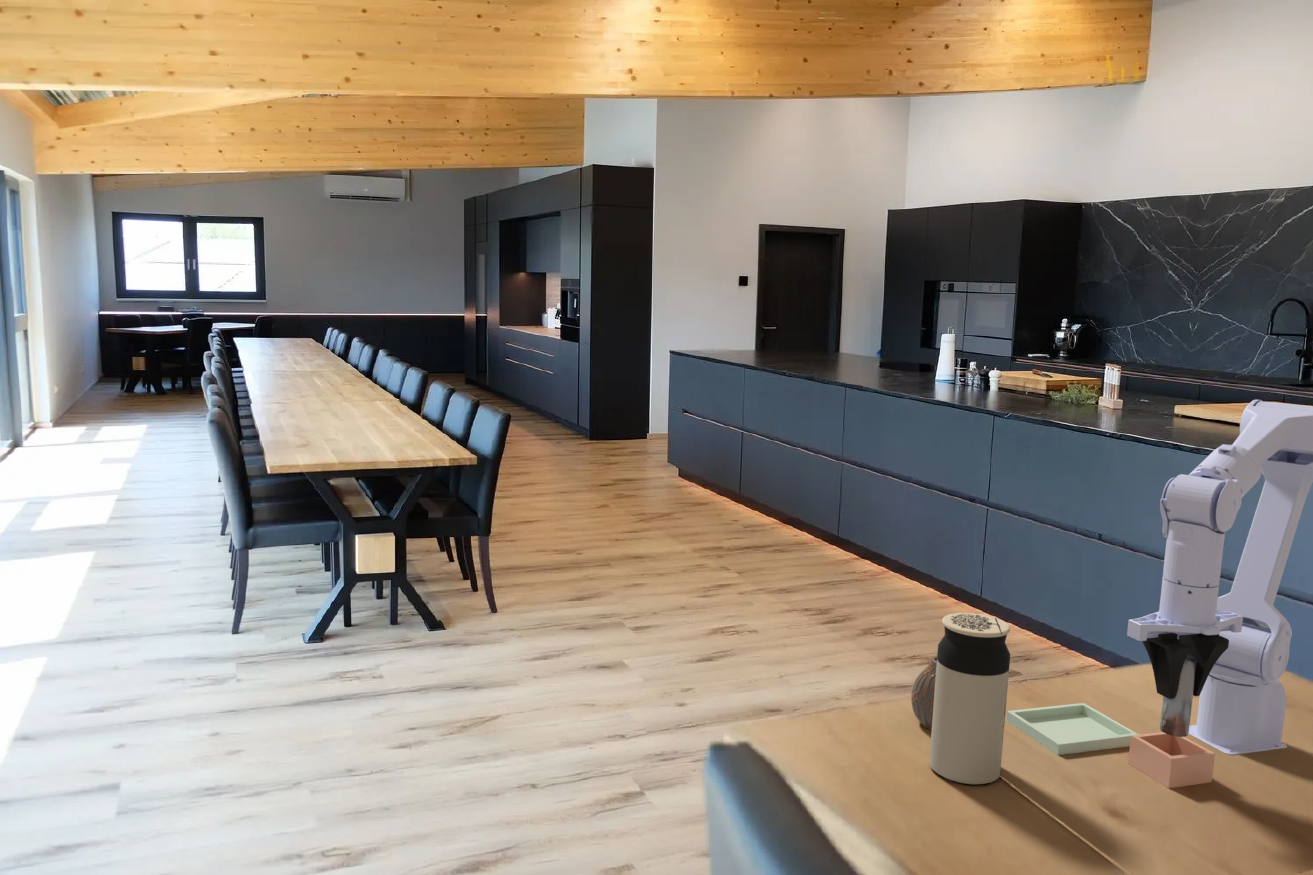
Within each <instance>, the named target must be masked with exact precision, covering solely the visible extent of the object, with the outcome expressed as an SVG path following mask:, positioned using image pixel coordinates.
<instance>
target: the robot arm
mask: <svg viewBox="0 0 1313 875" xmlns="http://www.w3.org/2000/svg"><path fill="white" fill-rule="evenodd" d="M1261 475H1263V477H1264V484H1263V487H1262V490H1261V494H1260V497H1259V500H1258V503H1257V506H1256V509H1255V513H1254V516H1253V519H1252V522H1251V526H1250V529H1249V531H1248V534H1247V538H1246V541H1245V544H1244V547H1243V551H1242V554H1241V557H1240V560H1239V564H1238V566H1237V569H1236V570H1237V571H1236V573H1235V576H1234V580H1233V581H1232V582H1233V583H1232V585H1231V589H1230V592H1228V593H1226V594H1224V595H1220V596H1219V590H1220V579H1221V573H1222V572H1221V571H1222V570H1221V569H1222V562H1223V553H1224V544H1225V538H1226V532H1227V531H1228V530H1230V529H1231V528H1232V527H1233V526H1234V522H1235V520H1236V518H1237V515H1238V513H1239V512H1238V511H1239V510H1240V509H1241V506H1242V498H1243V497H1244V496H1246V494H1247V493H1248V492H1249V491H1250V490H1251V489H1252V488H1254V486H1255V485H1256V483H1258V482H1259V480H1260V478H1261ZM1312 484H1313V405H1305V404H1296V403H1294V404H1293V403H1283V402H1276V401H1275V402H1274V401H1263V400H1262V399H1253V400H1252V401H1250V402H1249V404H1247V405H1246V407H1245V408H1244V410H1243V412H1242V414H1241V418H1240V421H1239V435H1238V437H1237V438H1236V439H1235V440H1234V441H1233V443H1232V444H1224V443H1223V444H1221V445H1220V446H1218V447H1217V448H1215V449H1213V451H1212V452H1211V453H1210V454H1208V455H1207V457H1205V458H1204V459H1203V461H1201V463H1199V464H1198V466H1196V467H1195V468H1194V469H1193V470H1192V471H1191V472H1189V474H1183V473H1181V474H1178V475H1177V476H1175V477H1171V478H1170V479H1169V480H1168V481H1167V482H1166V484H1165V486H1164V488H1163V491H1162V495H1161V498H1160V501H1159V509H1160V510H1159V511H1160V515H1161V519H1162V531H1161V533H1162V537H1163V538H1165V539H1166V541H1165V551H1164V559H1163V560H1164V561H1163V571H1162V578H1161V579H1162V580H1161V589H1160V591H1161V592H1160V601H1159V608H1158V611H1156V612H1153V613H1149V614H1146V615H1144V616H1142V617H1138V618H1131V619H1128V623H1127V631H1126V636H1127V637H1130V638H1132V639H1134V640H1136V641H1139V642H1142V644H1143V646H1144V648H1145V650H1146V652H1147V655H1148V657H1149V660H1150V665H1151V667H1152V668H1151V669H1152V671H1153V677H1154V682H1155V688H1156V689H1155V690H1156V693H1157V694H1159V695H1161V696H1162V697H1163V696H1164V697H1166V698H1168V699H1175V697H1176V694H1177V691H1178V685H1179V679H1180V674H1181V670H1182V667H1183V664H1184V662H1185V659H1186V657H1187V655H1191V656H1193V657H1195V658H1196V659H1197V666H1196V674H1195V683H1194V692H1193V697H1199V700H1198V709H1197V717H1196V724H1192V725H1191V724H1190V726H1189V734H1188V735H1189V736H1192V737H1194V738H1196V739H1197V740H1199V741H1201V742H1203V743H1205V744H1207V745H1208V746H1211V747H1212V748H1214V749H1216V750H1218V751H1220V752H1221V753H1224V754H1226V755H1228V756H1236V755H1242V754H1243V755H1244V754H1251V753H1257V752H1266V751H1272V750H1280V749H1281V750H1282V749H1287V748H1288V745H1286V744H1284V743H1283V742H1282V740H1283V731H1284V723H1285V717H1286V716H1285V715H1286V708H1287V694H1286V690H1285V688H1284V685H1283V684H1282V682H1281V681H1280V679H1281V678H1282V676H1283V674H1285V671H1286V669H1287V666H1288V662H1289V658H1290V648H1291V647H1290V645H1291V640H1292V635H1293V631H1292V626H1291V625H1290V624H1291V623H1290V622H1289V621H1288V620H1287V619H1286V617H1285V616H1284V615H1283V614H1282V613H1281V612H1280V611H1279V609H1277V608H1276V607H1275V606H1274V604H1275V600H1276V598H1277V593H1278V591H1279V587H1280V584H1281V582H1282V581H1281V580H1282V577H1283V574H1284V571H1285V567H1286V565H1287V562H1288V558H1289V556H1290V552H1291V549H1292V548H1291V547H1292V544H1293V541H1294V539H1295V535H1296V532H1297V528H1298V526H1299V522H1300V518H1301V515H1302V512H1303V509H1304V505H1305V502H1306V500H1307V496H1308V494H1309V492H1310V490H1311V487H1312Z"/></svg>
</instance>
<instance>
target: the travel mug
mask: <svg viewBox="0 0 1313 875" xmlns="http://www.w3.org/2000/svg"><path fill="white" fill-rule="evenodd" d="M941 623H942V625H943V627H944V636H943V637H942V639H941V640H940V641H939V643H938V644H937V651H936V652H937V654H936V657H937V666H936V679H935V693H934V706H933V719H932V729H931V736H930V746H929V747H930V749H929V759H928V760H929V761H928V764H929V766H930V768H931V769H932V770H933V771H934V772H935V773H937V775H940V776H941V777H943V778H945V779H947V780H949V781H952V782H955V783H959V784H963V785H972V786H973V785H975V786H977V785H983V784H988V783H989V784H990V783H992V782H995V781H997V780H998V779H999V778H1000V776H1001V771H1002V770H1001V768H1002V758H1003V757H1002V755H1003V746H1004V734H1005V721H1006V713H1007V710H1006V709H1007V698H1008V689H1009V688H1008V686H1009V678H1010V677H1009V675H1010V664H1011V653H1010V650H1009V648H1008V646H1007V644H1006V640H1007V636H1008V634H1009V633H1010V632H1011V627H1010V625H1009V623H1007V622H1006V621H1004V620H1002V619H1000V618H998V617H994V616H992V615H991V616H990V615H986V614H981V613H973V612H956V613H949V614H946V615H944V616H943V617H942V620H941Z"/></svg>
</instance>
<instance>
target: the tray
mask: <svg viewBox="0 0 1313 875" xmlns="http://www.w3.org/2000/svg"><path fill="white" fill-rule="evenodd" d="M1005 721H1006V722H1007V723H1008V724H1010V725H1012V726H1013V727H1015V728H1016V729H1017V730H1019V731H1021V732H1022V733H1024V734H1025V735H1027V736H1028V737H1030V738H1031V739H1033V740H1035V742H1037V743H1039V744H1040V745H1042V746H1043V747H1045V748H1046V749H1048V750H1049V751H1051V752H1052V753H1054V754H1055V755H1057V756H1061V755H1069V754H1077V753H1087V752H1093V751H1102V750H1108V749H1117V748H1118V749H1119V748H1126V747H1130V740H1131V735H1139V734H1140V733H1138V732H1135V731H1134V730H1132V729H1131V728H1128V727H1126V726H1125V725H1123V724H1121V723H1119V722H1118V721H1116V720H1114V719H1112V718H1111V717H1109V716H1107V715H1106V714H1104V713H1102V712H1101V711H1099V710H1097V709H1095V708H1093V707H1092V706H1090V705H1088V704H1087V703H1084V702H1078V703H1072V704H1071V703H1070V704H1062V705H1049V706H1041V707H1033V708H1024V709H1023V708H1022V709H1014V710H1006V717H1005Z"/></svg>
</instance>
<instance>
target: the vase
mask: <svg viewBox="0 0 1313 875" xmlns="http://www.w3.org/2000/svg"><path fill="white" fill-rule="evenodd" d="M936 666H937V656H935V657H932V659H931V661H930V662H929V664H928V665H927V666H926V667H925V668H924V669H923V670H922V671H921V672H920V673H919V674H918V675H917V677H916V679H915V680H914V683H913V685H912V689H911V707H912V711H913V714H914V717H915V718H916V719H917V720H918V721H919V723H920V724H921V725H922V726H923V727H925V728H926V729H929V730H932V719H933V706H934V693H935V679H936Z"/></svg>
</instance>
